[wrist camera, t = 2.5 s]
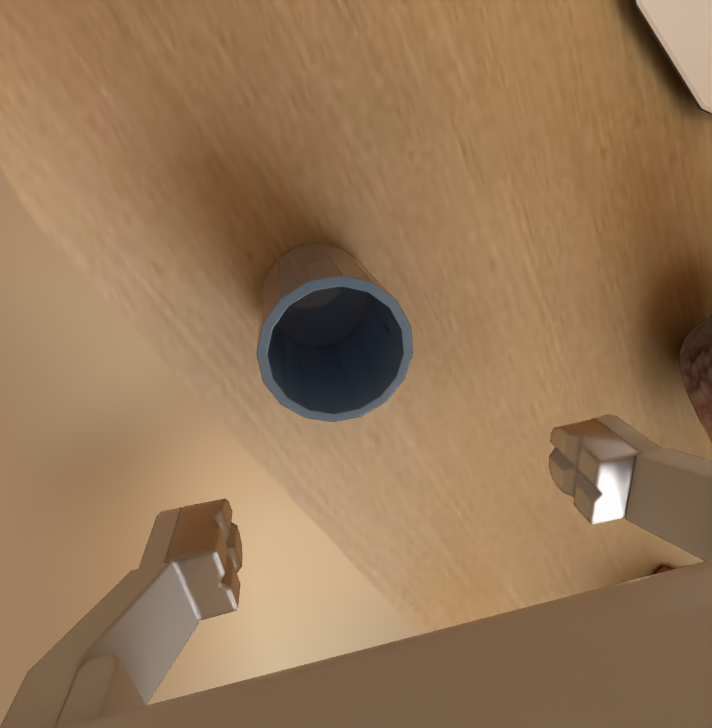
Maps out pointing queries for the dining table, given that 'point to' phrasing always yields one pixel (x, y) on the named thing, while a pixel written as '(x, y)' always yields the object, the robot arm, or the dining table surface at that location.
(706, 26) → the plate
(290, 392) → the cup
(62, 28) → the dining table surface
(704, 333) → the decorative stone
